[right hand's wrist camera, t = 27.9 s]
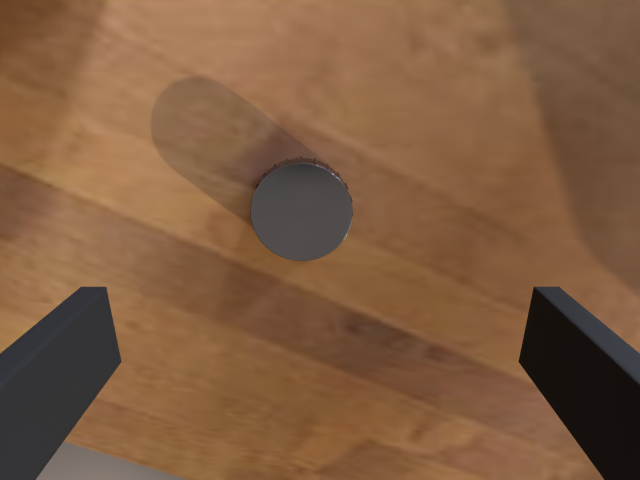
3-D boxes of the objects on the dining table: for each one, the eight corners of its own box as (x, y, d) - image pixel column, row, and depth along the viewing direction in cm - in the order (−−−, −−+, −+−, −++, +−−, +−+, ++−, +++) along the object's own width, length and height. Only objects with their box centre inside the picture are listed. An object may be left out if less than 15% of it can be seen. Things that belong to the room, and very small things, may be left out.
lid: (275, 263, 28) (272, 275, 26) (237, 177, 26) (232, 183, 24) (363, 233, 27) (366, 243, 25) (331, 142, 25) (333, 145, 23)
